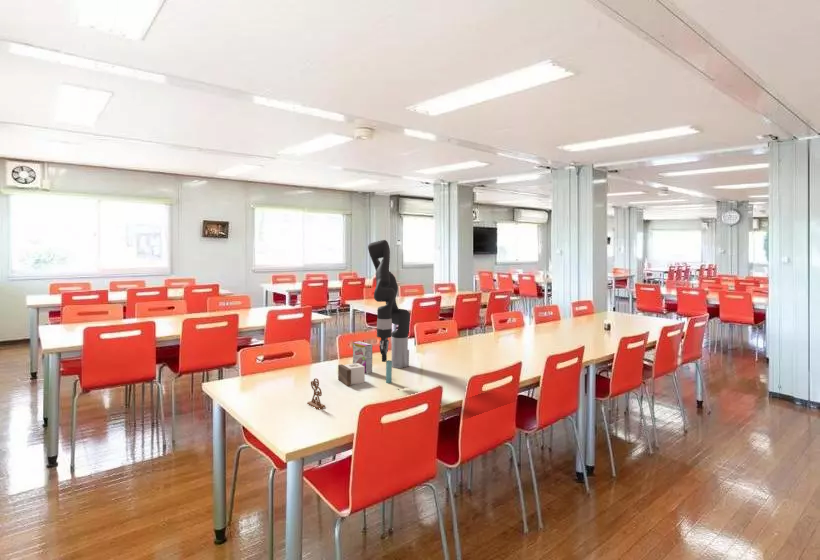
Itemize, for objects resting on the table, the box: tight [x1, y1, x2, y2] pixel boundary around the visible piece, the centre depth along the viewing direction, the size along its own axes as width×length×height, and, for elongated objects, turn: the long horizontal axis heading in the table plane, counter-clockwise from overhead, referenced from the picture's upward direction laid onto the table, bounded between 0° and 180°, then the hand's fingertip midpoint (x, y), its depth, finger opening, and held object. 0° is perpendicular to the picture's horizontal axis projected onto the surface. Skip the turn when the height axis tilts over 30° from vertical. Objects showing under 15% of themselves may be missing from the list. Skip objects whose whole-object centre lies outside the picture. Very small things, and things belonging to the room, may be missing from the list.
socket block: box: [343, 363, 366, 385], centre depth 237 cm, size 8×8×8 cm
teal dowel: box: [385, 359, 393, 384], centre depth 236 cm, size 3×3×12 cm
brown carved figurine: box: [306, 378, 326, 410], centre depth 203 cm, size 9×4×12 cm, turn 42°
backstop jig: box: [337, 363, 352, 387], centre depth 240 cm, size 26×12×9 cm, turn 119°
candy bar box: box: [352, 340, 373, 374], centre depth 257 cm, size 11×5×16 cm, turn 47°
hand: (384, 361), depth 238 cm, fingers closed
